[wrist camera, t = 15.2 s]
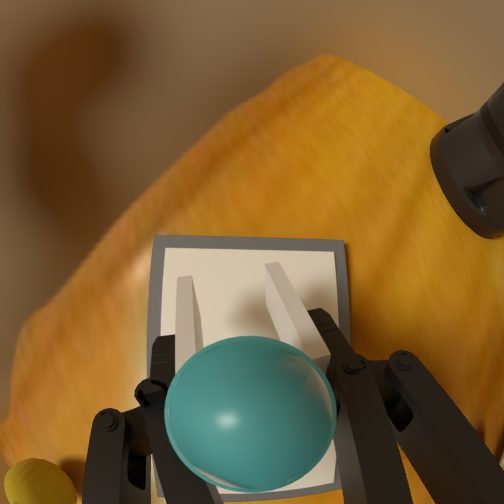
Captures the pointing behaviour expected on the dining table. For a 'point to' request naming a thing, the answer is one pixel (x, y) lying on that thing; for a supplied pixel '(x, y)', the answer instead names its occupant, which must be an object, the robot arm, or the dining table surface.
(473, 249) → the dining table surface
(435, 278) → the dining table surface
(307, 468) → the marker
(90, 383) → the dining table surface
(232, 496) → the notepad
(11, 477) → the lemon
